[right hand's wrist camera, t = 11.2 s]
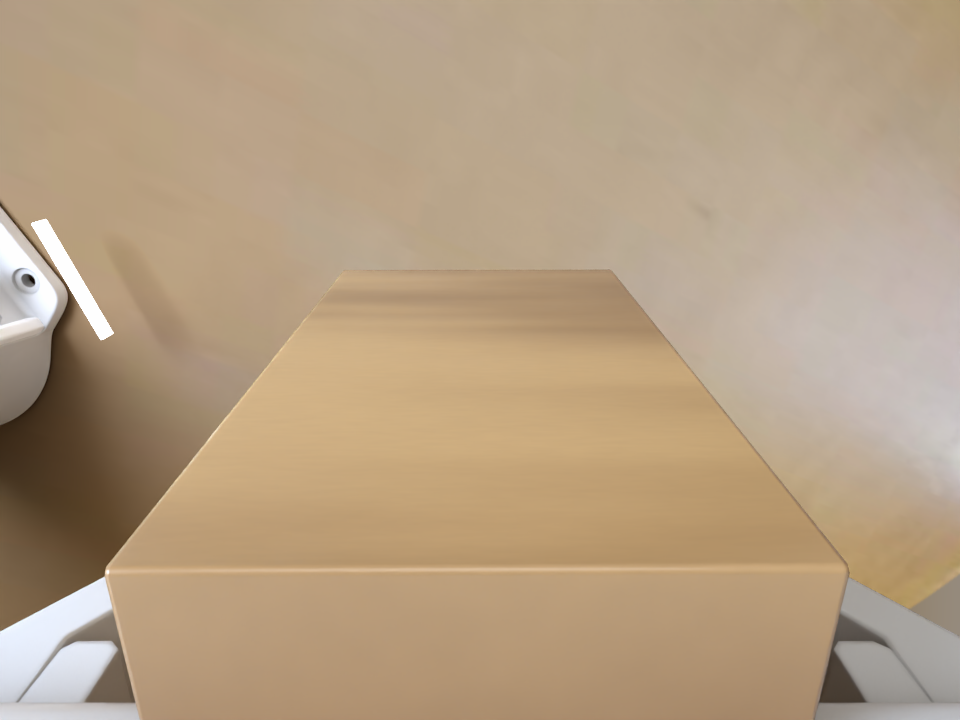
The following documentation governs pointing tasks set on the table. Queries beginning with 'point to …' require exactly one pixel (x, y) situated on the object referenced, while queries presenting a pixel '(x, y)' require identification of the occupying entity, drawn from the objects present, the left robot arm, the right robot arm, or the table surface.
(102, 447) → the table surface
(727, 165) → the table surface
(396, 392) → the bar
